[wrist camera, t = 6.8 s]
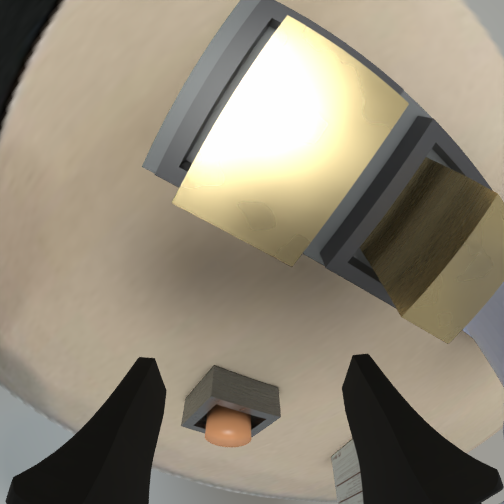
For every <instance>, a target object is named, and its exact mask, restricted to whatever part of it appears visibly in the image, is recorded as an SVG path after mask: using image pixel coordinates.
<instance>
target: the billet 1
mask: <svg viewBox="0 0 504 504" xmlns="http://www.w3.org/2000/svg"><path fill="white" fill-rule="evenodd" d="M408 105H409V103H408V102H407V101H406V100H405V99H404V98H403V97H401V96H400V95H399V94H398V93H397V92H396V91H395V90H394V89H392V88H391V87H390V86H389V85H388V84H387V83H385V82H384V81H383V80H382V79H381V78H379V77H378V76H377V75H376V74H374V73H373V72H372V71H371V70H369V69H368V68H367V67H366V66H364V65H363V64H362V63H360V62H359V61H358V60H356V59H355V58H354V57H352V56H351V55H350V54H348V53H347V52H345V51H344V50H343V49H341V48H340V47H338V46H337V45H335V44H334V43H332V42H331V41H329V40H328V39H326V38H325V37H323V36H322V35H320V34H319V33H317V32H315V31H314V30H312V29H311V28H309V27H307V26H306V25H304V24H302V23H301V22H299V21H297V20H295V19H294V18H292V17H290V16H288V15H287V17H286V18H285V19H284V21H283V22H282V23H281V25H280V26H279V27H278V29H277V30H276V31H275V33H274V34H273V36H272V37H271V38H270V40H269V41H268V42H267V44H266V45H265V47H264V48H263V50H262V51H261V52H260V54H259V55H258V57H257V58H256V60H255V61H254V63H253V64H252V66H251V67H250V69H249V70H248V72H247V73H246V75H245V76H244V78H243V79H242V81H241V82H240V84H239V86H238V87H237V89H236V90H235V92H234V93H233V95H232V97H231V98H230V100H229V101H228V103H227V105H226V106H225V108H224V109H223V111H222V113H221V114H220V116H219V118H218V119H217V121H216V123H215V124H214V126H213V128H212V130H211V131H210V133H209V135H208V137H207V138H206V140H205V142H204V144H203V145H202V147H201V149H200V151H199V152H198V154H197V156H196V158H195V160H194V161H193V163H192V165H191V167H190V169H189V171H188V173H187V174H186V176H185V178H184V180H183V182H182V184H181V186H180V188H179V190H178V192H177V194H176V196H175V197H174V199H173V201H172V204H174V205H176V206H178V207H180V208H182V209H184V210H186V211H188V212H189V213H191V214H193V215H195V216H197V217H199V218H201V219H203V220H205V221H206V222H208V223H210V224H212V225H214V226H216V227H218V228H220V229H222V230H223V231H225V232H227V233H229V234H231V235H233V236H235V237H237V238H238V239H240V240H242V241H244V242H246V243H248V244H250V245H252V246H254V247H255V248H257V249H259V250H261V251H263V252H265V253H267V254H269V255H270V256H272V257H274V258H276V259H278V260H280V261H282V262H283V263H285V264H287V265H289V266H291V267H292V266H293V265H294V264H295V262H296V261H297V260H298V259H299V257H300V256H301V255H302V253H303V252H304V251H305V249H306V248H307V247H308V245H309V244H310V243H311V241H312V240H313V239H314V237H315V236H316V235H317V233H318V232H319V231H320V229H321V228H322V227H323V225H324V224H325V223H326V221H327V220H328V219H329V217H330V216H331V215H332V213H333V212H334V211H335V209H336V208H337V206H338V205H339V204H340V202H341V201H342V200H343V198H344V197H345V195H346V194H347V193H348V191H349V190H350V189H351V187H352V186H353V184H354V183H355V182H356V180H357V179H358V177H359V176H360V175H361V173H362V172H363V170H364V169H365V168H366V166H367V165H368V163H369V162H370V160H371V159H372V158H373V156H374V155H375V153H376V152H377V150H378V149H379V147H380V146H381V145H382V143H383V142H384V140H385V139H386V137H387V136H388V134H389V133H390V131H391V130H392V128H393V127H394V126H395V124H396V123H397V121H398V120H399V118H400V117H401V115H402V114H403V112H404V111H405V109H406V108H407V106H408Z"/></svg>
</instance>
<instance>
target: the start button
mask: <svg viewBox="0 0 504 504" xmlns="http://www.w3.org/2000/svg"><path fill="white" fill-rule="evenodd" d="M205 438H206V440H207V441H208V442H210V443H212V444H214V445H218V446H222V447H239V446H243V445H246V444H248V443H249V442H250V441H251V415H250V414H246V413H243V412H239V411H236V410H233V409H229V408H226V407H223V406H220V405H217V404H216V405H215V406H214V407H213V408H212V409H211V410H210V411H209V412H207V421H206V431H205Z"/></svg>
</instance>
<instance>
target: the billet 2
mask: <svg viewBox="0 0 504 504" xmlns="http://www.w3.org/2000/svg"><path fill="white" fill-rule="evenodd" d="M360 249H361V251H362V253H363V254H364V256H365V257H366V259H367V260H368V262H369V264H370V265H371V267H372V268H373V270H374V272H375V273H376V275H377V276H378V278H379V280H380V281H381V283H382V285H383V286H384V288H385V290H386V291H387V293H388V295H389V296H390V298H391V300H392V301H393V303H394V305H395V307H396V308H397V310H398V312H399V314H400V315H401V317H402V318H404V319H406V320H408V321H409V322H411V323H413V324H414V325H416V326H418V327H420V328H421V329H423V330H425V331H427V332H428V333H430V334H432V335H434V336H435V337H437V338H439V339H440V340H442V341H444V342H446V343H447V344H449V343H450V342H451V341H452V340H453V339H454V338H455V337H456V336H457V335H458V334H459V333H460V332H461V331H462V330H463V329H464V328H465V326H466V325H467V324H468V323H469V322H470V321H471V320H472V319H473V318H474V317H475V316H476V314H477V313H478V312H479V311H480V310H481V309H482V308H483V306H484V305H485V304H486V303H487V302H488V301H489V299H490V298H491V297H492V296H493V294H494V293H495V292H496V291H497V290H498V288H499V287H500V286H501V284H502V283H503V282H504V202H503V201H502V199H501V198H500V196H499V195H498V194H497V193H496V192H494V191H492V190H490V189H489V188H487V187H485V186H483V185H481V184H479V183H478V182H476V181H474V180H472V179H470V178H468V177H466V176H464V175H462V174H460V173H458V172H456V171H454V170H452V169H450V168H448V167H446V166H444V165H442V164H440V163H438V162H435V161H433V160H431V159H429V158H425V159H424V161H423V162H422V164H421V165H420V167H419V168H418V170H417V171H416V172H415V174H414V175H413V177H412V178H411V180H410V181H409V182H408V184H407V185H406V187H405V188H404V189H403V191H402V192H401V194H400V195H399V196H398V198H397V199H396V201H395V202H394V203H393V205H392V206H391V207H390V209H389V210H388V211H387V213H386V214H385V215H384V217H383V218H382V219H381V221H380V222H379V223H378V225H377V226H376V227H375V228H374V230H373V231H372V232H371V234H370V235H369V236H368V238H367V239H366V240H365V241H364V243H363V244H362V245H361V246H360Z"/></svg>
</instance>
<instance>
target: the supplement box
mask: <svg viewBox="0 0 504 504" xmlns="http://www.w3.org/2000/svg"><path fill="white" fill-rule="evenodd" d="M331 458H332V465H333V472H334V480H335V487H336V494H337V501H338V504H363V492H362V482H361V473H360V466H359V461H358V456H357V453H356V449H355V445H354V441H353V439H352V440H351V441H350V442H348V443H347V444H346V445H345V446H344V447H342V448H341V449H340V450H339V451H337V452H336V453H335V454H334V455H333V456H332V457H331Z"/></svg>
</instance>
